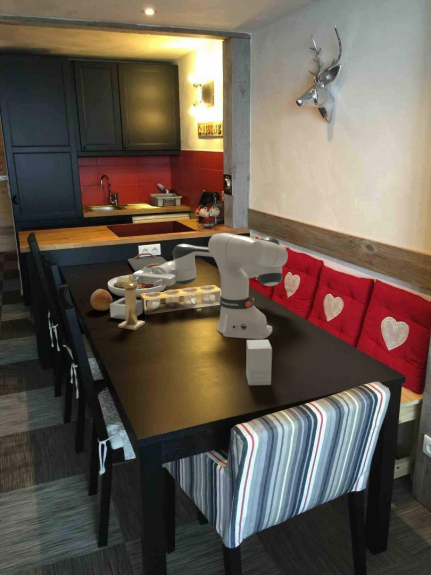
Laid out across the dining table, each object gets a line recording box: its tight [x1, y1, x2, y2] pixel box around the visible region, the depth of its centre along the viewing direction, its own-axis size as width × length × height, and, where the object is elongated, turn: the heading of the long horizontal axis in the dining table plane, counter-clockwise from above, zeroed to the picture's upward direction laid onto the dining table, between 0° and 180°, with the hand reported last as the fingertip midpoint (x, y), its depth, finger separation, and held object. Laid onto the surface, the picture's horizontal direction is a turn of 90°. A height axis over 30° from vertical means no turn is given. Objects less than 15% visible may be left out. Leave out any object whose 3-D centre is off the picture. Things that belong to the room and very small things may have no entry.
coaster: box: [117, 319, 146, 331], centre depth 202 cm, size 8×8×1 cm
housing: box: [109, 297, 143, 321], centre depth 214 cm, size 10×10×6 cm
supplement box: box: [245, 339, 273, 386], centre depth 153 cm, size 7×7×13 cm
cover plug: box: [122, 282, 138, 325], centre depth 200 cm, size 6×6×17 cm
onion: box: [89, 288, 113, 312], centre depth 219 cm, size 10×10×10 cm
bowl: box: [107, 274, 167, 298], centre depth 250 cm, size 30×30×8 cm
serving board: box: [127, 252, 168, 273], centre depth 298 cm, size 39×23×6 cm, turn 18°
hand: (145, 282), depth 210 cm, fingers open, 8 cm apart
